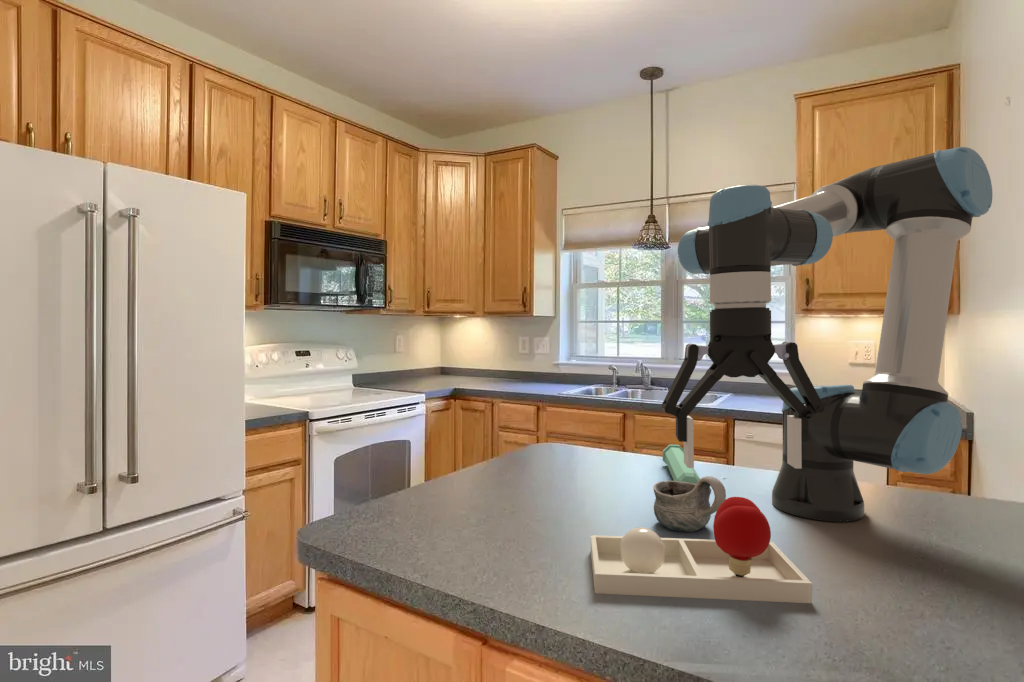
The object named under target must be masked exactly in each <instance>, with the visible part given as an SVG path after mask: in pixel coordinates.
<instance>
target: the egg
mask: <svg viewBox="0 0 1024 682" xmlns="http://www.w3.org/2000/svg"><path fill="white" fill-rule="evenodd" d="M623 536H624V537H623V538H622V540H621V544H620V554H621V558H622V560H623V562H624V564H625V565H626V566H627V567H628V568H629V569H630V570H632V571H633V572H635V573H640V574H651V573H653V572H655V571H657V570H658V569H659V568H660V567H661V565H662V564H663V561H664V558H665V547H664V544H663V542H662V540H661V538H662V537H661V536H659V535H658V533H656V532H655V531H654V530H653V529H650V528H648V527H644V526H641V527H634V528H631V529H630V530H628V531H627V532H626V533H625V534H624V535H623Z"/></svg>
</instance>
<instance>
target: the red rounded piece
mask: <svg viewBox="0 0 1024 682" xmlns="http://www.w3.org/2000/svg"><path fill="white" fill-rule="evenodd" d="M769 523H770V522H769V521H768V519H767V517H766V515H765V514H764V513H763V512H762V511H761V509H760V508H759V506H758V505H756V503H754V502H753V501H752V500H750V499H749V498H747V497H741V496H730V497H727V498H726V499H725V501H724V502H723V503H722V504H721V505H720V506H719V508H718V510H717V511H716V512H715V515H714V518H713V525H712V526H713V535H714V540H715V541H716V544H717V546H718V547H719V548H721V550H722V551H724V552H725V553H727V554H729V560H730V561H729V569H730V570H731V571H732V572H733V573H734V574H735V575H736V576H737V577H743V576H745V575H747V574H749V573H750V569H751V568H750V567H751V565H750V564H751V559H752V558H751V557H756V556H758V555H760V554H762V553H763V552H764V551H765V550H766V549H767V547H768V545H769V543H770V542H771V538H772V537H771V536H772V535H771V534H772V532H771V531H772V530H771V526H770V524H769Z"/></svg>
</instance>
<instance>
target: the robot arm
mask: <svg viewBox="0 0 1024 682" xmlns="http://www.w3.org/2000/svg"><path fill="white" fill-rule="evenodd" d="M772 204H773V202H772V200H771V192H770V190H769V189H768V188H767V187H766V186H764V185H760V184H759V185H758V184H744V185H743V184H741V185H735V186H730V187H725V188H722V189H719V190H718V191H715V192H714V193H713V194H712V195H711V197H710V200H709V210H708V221H707V226H700V227H697V228H695V229H692V230H688V231H686V232H685V233H684V234H683V235H682V236H681V238H680V240H679V241H678V245H677V255H678V261H679V263H680V265H681V267H682V268H683V269H684V270H685V271H686V272H688V273H689V274H692V275H700V274H701V275H709V304H710V305H711V306H712V305H713V306H714V309H711V310H710V311H709V343H708V344H707V345H699V344H695V343H690V342H689V343H687V344H686V345H685V349H684V359H683V362H682V363H681V365H680V367H679V369H678V371H677V374H676V376H675V378H674V379H673V381H672V384H671V385H670V387H669V390H668V391H667V394H666V396H665V398H664V400H663V401H662V404H661V409H662V410H663V411H664V412H665V413H666V414H667V415H668V414H669V415H672V416H674V418H675V437H676V439H677V441H678V442H682V443H683V449H684V463H685V465H686V466H687V467H688V468H694V469H695V451H694V447H695V443H694V437H695V435H694V434H695V432H694V431H695V428H694V418H692V417H691V416H690V414H691V412H692V411H693V410H694V409H695V408H696V406H697V405H698V404H699V403H700V402H701V401H702V400H703V398H705V396H706V395H707V394H708V393H709V391H711V389H712V388H713V387H714V385H715V384H716V383H717V382H718V381H720V380H721V379H722V378H723V377H724V376H726V377H729V378H739V377H746V378H755V377H756V376H759V377H760V378H761V379H763V380H764V382H765V383H766V385H768V386H769V387H770V388H771V390H773V391H774V393H775V394H776V395H777V396H778V397H779V398H780V400H782V402H783V403H782V408H781V412H782V464H781V467H780V470H779V471H778V475H777V477H776V480H775V483H774V485H773V488H772V492H771V504H772V505H773V506H774V507H775V508H776V509H778V510H780V511H782V512H785V513H787V514H790V515H793V516H796V517H801V518H805V519H811V520H817V521H824V522H841V523H842V522H853V521H858V520H860V519H862V518H864V517H865V500H864V498H863V496H862V492H861V490H860V487H859V484H858V481H857V479H856V478H857V477H856V475H855V473H854V462H859V463H863V464H867V465H871V466H872V465H873V466H877V467H882V468H887V469H892V470H895V471H898V472H901V473H913V474H914V473H915V474H921V475H931V474H934V473H937V472H939V471H941V470H942V469H944V468H945V467H946V466H947V465H948V464H949V463H950V462H951V460H952V459H953V457H954V456H955V454H956V453H957V452H956V451H957V449H958V447H959V444H960V442H961V441H960V440H961V437H962V431H963V423H962V422H961V420H962V416H961V415H962V414H961V412H960V410H959V409H958V408H957V407H956V406H955V405H953V404H952V403H950V402H948V399H949V392H948V391H947V390H946V389H945V388H944V387H943V386H942V385H941V384H940V382H939V376H940V369H941V364H942V363H941V362H942V355H943V348H944V341H945V333H946V325H947V318H948V310H949V303H950V296H951V288H952V282H953V274H954V269H955V268H954V267H955V261H956V253H957V247H958V241H960V240H961V239H963V238H965V236H967V235H969V234H970V232H971V230H972V221H973V218H980V217H981V216H983V215H985V214H987V213H988V212H989V210H990V208H991V207H992V204H993V185H992V180H991V175H990V173H989V169H988V167H987V165H986V163H985V161H984V160H983V158H982V156H981V155H980V154H979V153H978V152H977V151H976V150H975V149H972V148H970V147H966V146H958V147H953V148H949V149H943V150H941V149H938V150H935V152H931V153H928V154H924V155H920V156H915V157H911V158H908V159H903V160H899V161H895V162H890V163H887V164H883V165H878V166H874V167H870V168H868V169H867V168H866V169H865V170H862V171H859V172H857V173H854V174H852V175H850V176H847V177H845V178H842V179H841V180H837V181H834V182H833V183H830V184H826V185H823V186H821V187H819V188H818V189H816V190H814V192H813V193H812V194H811V195H808V196H805V197H802V198H800V199H799V198H798V199H796V200H792V201H788V202H786V203H782V204H778V205H775V206H772ZM882 230H883V231H884V230H885V233H886V234H887V235H888V236H889V238H891V239H892V240H893V241H894V243H893V250H892V255H891V256H892V257H891V263H890V271H889V277H888V284H887V289H886V297H885V303H884V310H883V318H882V324H881V325H882V326H881V329H880V337H879V338H880V339H879V345H878V350H877V351H878V352H877V358H876V359H877V360H876V365H875V372H874V375H872V376H870V378H869V377H868V378H867V379H866V380H864V381H862V382H863V383H862V389H861V394H857V391H856V389H855V387H854V386H853V385H852V384H832V385H816V386H814V385H813V383H812V381H811V379H810V377H809V375H808V373H807V371H806V370H805V368H804V366H803V364H802V362H801V361H800V356H799V355H800V353H799V349H798V344H797V343H796V342H794V341H793V342H791V341H783V342H782V343H777V344H773V340H772V310H770V307H767V304H770V303H771V302H772V280H771V279H772V277H771V276H772V275H771V269H772V268H771V267H775V266H784V265H788V266H789V265H791V266H793V267H797V266H804V265H812V264H815V263H817V262H819V261H820V260H822V259H823V258H824V257H825V256H826V255H827V254H828V252H830V249H831V247H832V245H833V240H834V239H833V237H839V236H841V235H844V234H851V233H857V232H858V233H860V232H872V231H874V232H875V231H882ZM775 354H776V355H777V358H779V359H780V360H782V362H783V364H784V366H785V368H786V370H787V372H788V374H789V376H790V378H791V379H792V381H793V383H794V385H795V387H791V388H789V386H787V384H786V383H785V382H784V381H783V380H782V379H781V378H780V376H779V375H778V374H777V372H776V370H774V369H773V368H772V366H771V365H770V364H769V362H770V360H771V359H772V358H773V357H774V355H775ZM705 355H707V356H708V358H709V359H710V360H711V362H712V364H711V366H710V367H708V369H707V370H706V371H705V373H704V375H703V376H702V377H701V378H700V380H699V381H698V382H696V384H695V386H693V388H691V390H690V391H689V392H688V393H687V395H686V396H685V397H684V398H683V400H681V402H680V403H679V400H680V399H681V397H682V395H683V393H684V391H685V388H686V387H687V384H688V383H689V381H690V379H691V377H692V375H693V373H694V371H695V368H696V366H697V363H698V362H700V361H701V360H703V357H704V356H705ZM678 403H679V404H678Z"/></svg>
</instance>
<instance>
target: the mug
mask: <svg viewBox="0 0 1024 682" xmlns="http://www.w3.org/2000/svg"><path fill="white" fill-rule="evenodd" d="M652 490H653V493H654V496H655V499H654V503H653V505H654V506H653V513H654V515H655V518H656V520H657V522H658V523H659V524H660V525H662V526H663V527H665V528H666V529H669V530H672V531H673V532H674V531H675V532H676V531H677V532H681V533H682V532H683V533H694V532H697V531H699V530H701V529H702V528H705V527H706V526H707V524H709V521H710V519H711V516H712V514H714V513H715V514H716V512H717V510H718V508H719V506H720V505H721V504H722V503H723V502H724V501H725V500H726V499H727V493H726V492H727V491H726V488H725V486H724V484H723V482H722V481H721V480H720V479H719V478H717V477H714V476H711V475H710V476H702V477H701V478H700V480H699V481H698V482H697V483H696V484H692V483H687V482H679V481H674V480H664V481H659V482H658V481H657V482H656V483H654V485H653V489H652ZM712 491H713V494H714V499H713V502H712V504H711V503H710V496H711V493H712Z"/></svg>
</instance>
